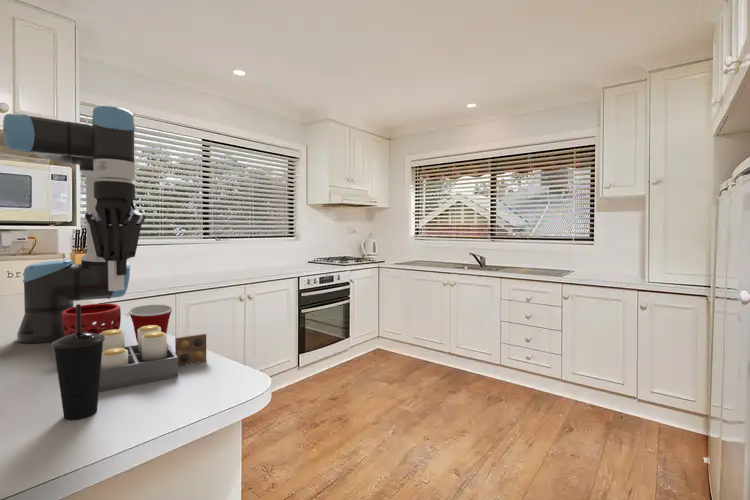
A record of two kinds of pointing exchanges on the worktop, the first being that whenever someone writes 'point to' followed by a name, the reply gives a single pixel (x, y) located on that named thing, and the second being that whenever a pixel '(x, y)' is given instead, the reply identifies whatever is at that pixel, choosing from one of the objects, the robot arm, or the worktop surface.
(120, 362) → the button
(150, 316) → the plastic cup
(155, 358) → the button
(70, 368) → the drinking cup
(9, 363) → the worktop surface
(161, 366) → the button board
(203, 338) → the placard
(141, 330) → the button
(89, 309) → the plant pot
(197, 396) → the worktop surface
